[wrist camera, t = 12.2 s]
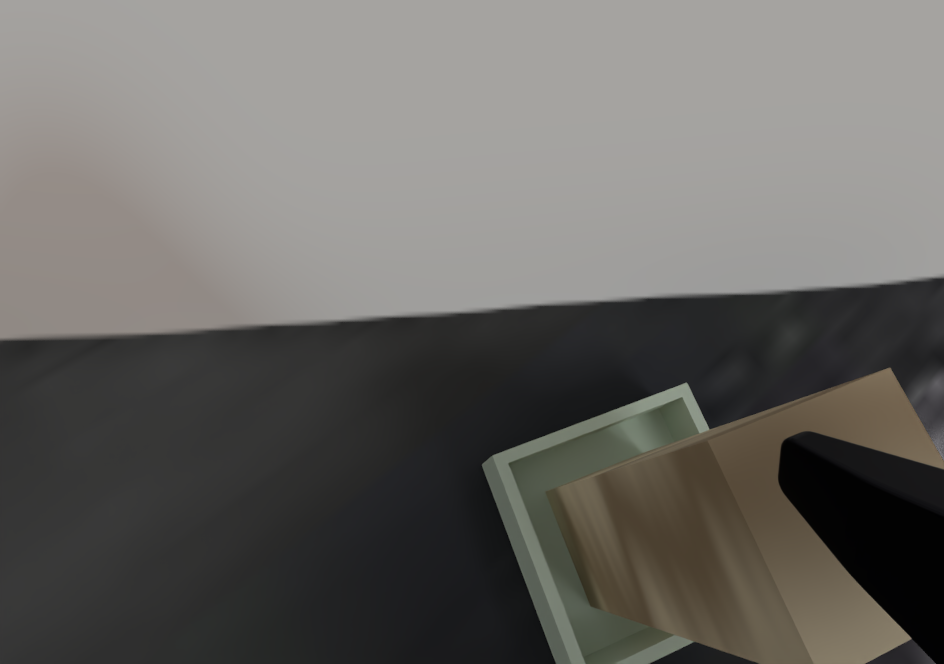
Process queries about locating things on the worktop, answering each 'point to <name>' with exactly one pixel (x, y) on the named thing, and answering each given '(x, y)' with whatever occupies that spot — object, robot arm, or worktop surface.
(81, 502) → the worktop surface
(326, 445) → the worktop surface
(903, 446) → the tan wooden block
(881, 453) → the robot arm
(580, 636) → the open square box
